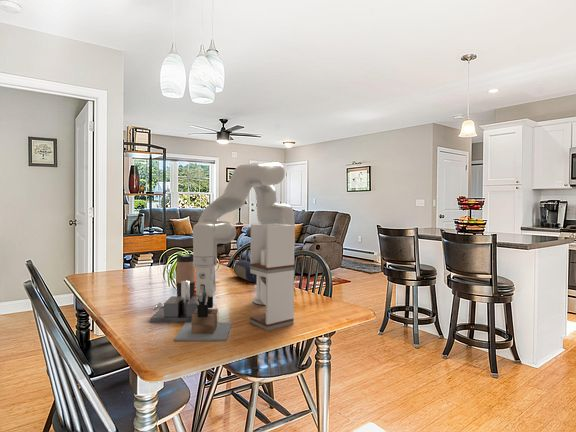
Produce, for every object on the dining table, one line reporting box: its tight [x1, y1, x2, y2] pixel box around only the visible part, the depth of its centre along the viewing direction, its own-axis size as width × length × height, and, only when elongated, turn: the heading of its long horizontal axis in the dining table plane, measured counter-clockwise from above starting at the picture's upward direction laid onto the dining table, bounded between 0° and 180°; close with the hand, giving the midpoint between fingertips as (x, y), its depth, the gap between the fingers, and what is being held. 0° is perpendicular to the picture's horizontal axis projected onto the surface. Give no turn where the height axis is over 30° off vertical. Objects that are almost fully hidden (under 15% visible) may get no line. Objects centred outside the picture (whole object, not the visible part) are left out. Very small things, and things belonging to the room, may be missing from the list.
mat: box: [173, 321, 233, 342], centre depth 124 cm, size 16×16×1 cm
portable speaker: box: [233, 259, 257, 284], centre depth 208 cm, size 25×10×10 cm, turn 30°
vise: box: [149, 280, 219, 323], centre depth 139 cm, size 22×12×14 cm, turn 92°
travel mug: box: [176, 253, 196, 299], centre depth 161 cm, size 8×8×20 cm
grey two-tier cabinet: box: [249, 223, 296, 331], centre depth 133 cm, size 11×11×35 cm
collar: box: [192, 308, 218, 334], centre depth 124 cm, size 7×7×6 cm
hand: (205, 312), depth 124 cm, fingers open, 9 cm apart
